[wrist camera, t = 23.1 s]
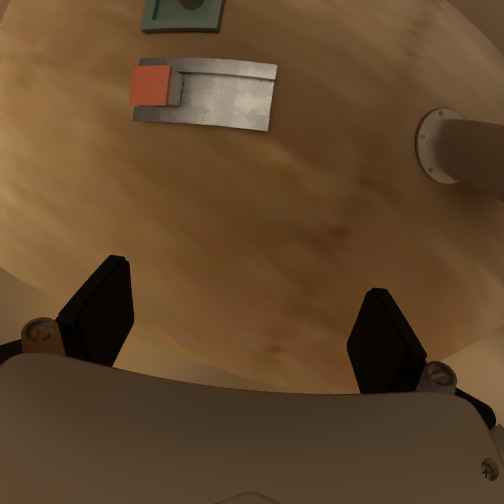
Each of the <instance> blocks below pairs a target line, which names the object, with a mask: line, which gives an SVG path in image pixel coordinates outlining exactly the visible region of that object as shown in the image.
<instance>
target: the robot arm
mask: <svg viewBox="0 0 504 504" xmlns="http://www.w3.org/2000/svg"><path fill="white" fill-rule="evenodd" d="M415 145H416V153H417V158H418V161H419V163H420V165H421V167H422V169H423V170H424V172H425V173H426V174H427V175H428V176H429V177H430V178H432V179H433V180H435V181H437V182H439V183H442V184H453V183H456V182H458V181H460V182H463V183H465V184H467V185H470V186H472V187H474V188H476V189H478V190H480V191H483V192H485V193H487V194H489V195H491V196H493V197H495V198H497V199H499V200H501V201H503V202H504V125H498V124H492V123H485V122H478V121H470V120H465V119H464V118H463V117H462V116H461V115H460V114H459V113H457V112H456V111H454V110H451V109H444V108H442V109H436V110H433V111H431V112H429V113H428V114H427V115H426V116H425V117H424V118H423V119H422V121H421V123H420V125H419V127H418V129H417V134H416V143H415ZM133 323H134V309H133V300H132V289H131V277H130V264H129V262H128V261H126V259H125V257H123V256H116V255H110V256H109V257H108V258H107V259H106V260H105V261H104V262H103V263H102V264H101V265H100V266H99V267H98V268H97V270H96V271H95V272H94V273H93V274H92V275H91V276H90V277H89V278H88V280H87V281H86V282H85V283H84V284H83V285H82V286H81V288H80V289H79V290H78V291H77V292H76V293H75V295H74V296H73V297H72V298H71V299H70V300H69V302H68V303H67V304H66V305H65V306H64V308H63V309H62V310H61V311H60V313H59V316H58V317H57V318H56V320H55V321H54V320H53V319H51V318H47V317H40V318H36V319H33V320H31V321H29V322H28V323H27V324H26V325H25V326H24V327H23V329H22V332H21V339H20V340H17V341H13V342H10V343H7V344H4V345H0V504H504V427H503V426H501V425H500V424H498V425H497V426H496V425H495V424H496V417H495V414H494V412H493V410H492V408H491V407H490V406H488V405H486V404H485V403H483V402H481V401H479V400H478V399H476V398H474V397H472V396H471V395H469V394H467V393H465V392H463V391H462V390H460V389H458V388H456V384H457V377H456V374H455V373H454V371H453V370H452V369H451V368H450V367H449V366H448V365H446V364H444V363H442V362H439V361H431V362H429V363H427V362H426V360H425V359H426V357H427V354H426V352H425V350H424V349H423V347H422V345H421V343H420V342H419V340H418V338H417V337H416V335H415V333H414V332H413V330H412V328H411V327H410V325H409V323H408V322H407V320H406V318H405V317H404V315H403V314H402V312H401V310H400V309H399V307H398V306H397V304H396V303H395V301H394V299H393V298H392V296H391V295H390V293H389V292H388V290H387V289H383V288H372V289H371V291H368V292H367V293H366V296H365V298H364V301H363V304H362V306H361V309H360V312H359V314H358V317H357V319H356V322H355V324H354V327H353V329H352V332H351V334H350V337H349V339H348V342H347V352H348V355H349V358H350V361H351V364H352V367H353V370H354V373H355V377H356V380H357V383H358V386H359V390H360V393H361V394H304V393H281V392H267V391H255V390H243V389H234V388H225V387H217V386H210V385H202V384H195V383H189V382H183V381H177V380H171V379H165V378H160V377H155V376H150V375H145V374H140V373H136V372H131V371H127V370H122V369H118V368H114V367H112V366H113V364H114V362H115V360H116V358H117V356H118V353H119V352H120V350H121V348H122V345H123V344H124V342H125V340H126V338H127V336H128V334H129V332H130V330H131V328H132V326H133Z"/></svg>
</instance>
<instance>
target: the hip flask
mask: <svg viewBox="0 0 504 504" xmlns="http://www.w3.org/2000/svg"><path fill="white" fill-rule="evenodd" d="M178 1H179V2H180V3H181V5H182V6H183V7H184V8H185V9H187V10H195V9H197V8H199V7H200V6H201V5H202V4H203V1H204V0H178Z"/></svg>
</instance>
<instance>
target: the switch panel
mask: <svg viewBox="0 0 504 504" xmlns="http://www.w3.org/2000/svg"><path fill="white" fill-rule="evenodd" d="M158 65H171V66H172V67H173V68H172V69H173V70H175V71H176V72H178V73H180V74H182V75H183V82H182V90H181V98H180V106H158V105H140V107H134V113H133V121H142V122H174V123H192V124H205V125H217V126H227V127H237V128H245V129H253V130H261V131H268V124H269V118H270V116H269V113H270V107H271V100H272V93H273V86H274V81H275V76H276V70H277V65H272V64H265V63H257V62H249V61H239V60H227V59H212V58H142V59H140V64H139V66H158Z"/></svg>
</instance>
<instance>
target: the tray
mask: <svg viewBox="0 0 504 504" xmlns="http://www.w3.org/2000/svg"><path fill="white" fill-rule="evenodd" d="M224 3H225V0H204V1H203V4H202V5H201V6H200V7H199V8H197V9H195V10H187V9H185V8H184V7H183V6H182V5H181V3H180V2H179V1H178V0H146V4H145V9H144V13H143V18H142V22H141V27H140V30H141V31H143V32H144V33H145V34H151V33H173V32H205V33H219V31H220V25H221V19H222V14H223V9H224Z"/></svg>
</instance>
